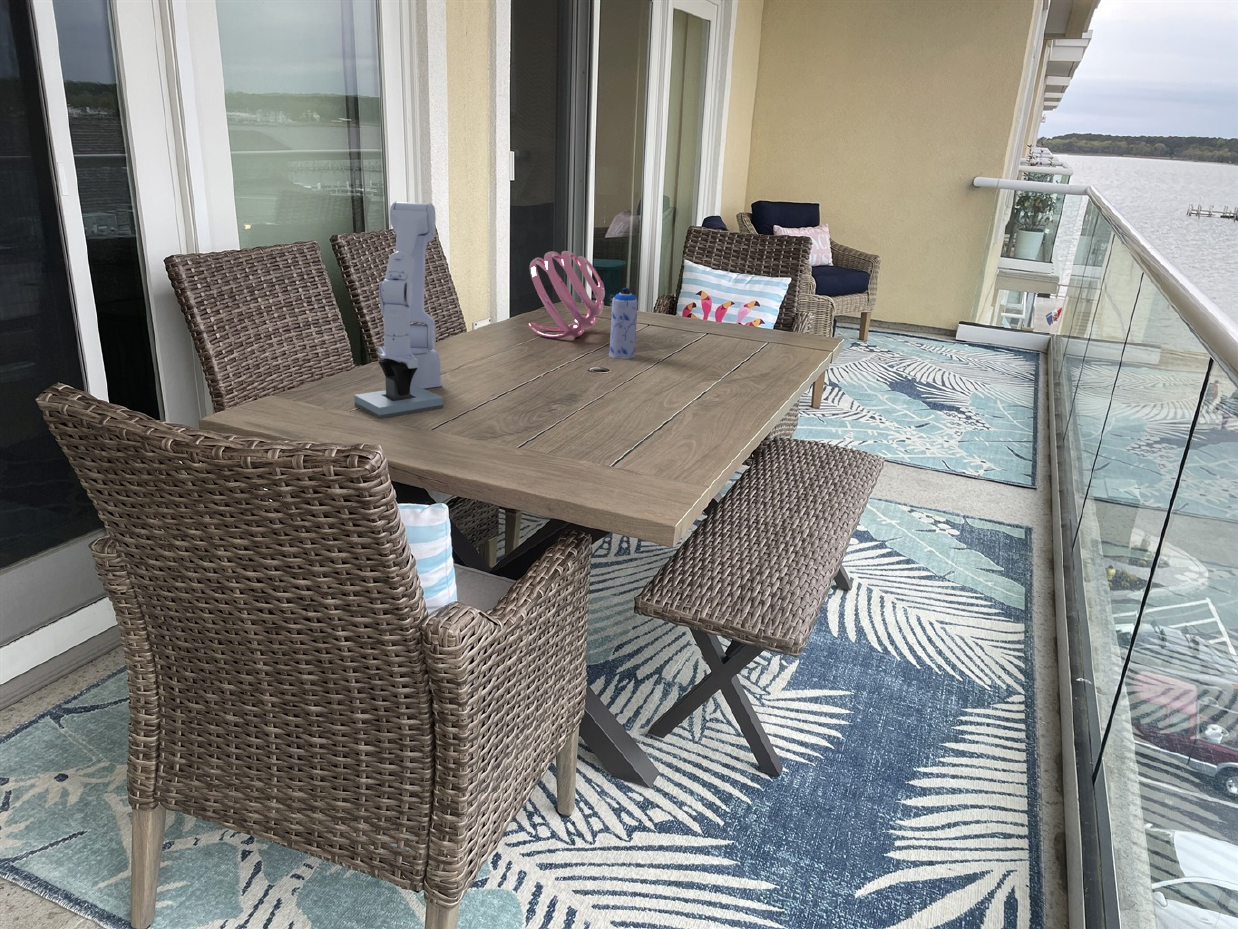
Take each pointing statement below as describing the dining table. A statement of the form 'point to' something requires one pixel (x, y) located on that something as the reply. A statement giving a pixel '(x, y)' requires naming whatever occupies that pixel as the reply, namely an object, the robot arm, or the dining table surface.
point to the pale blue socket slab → (398, 403)
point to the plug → (394, 390)
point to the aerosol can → (623, 325)
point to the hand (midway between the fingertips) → (398, 392)
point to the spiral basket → (568, 294)
